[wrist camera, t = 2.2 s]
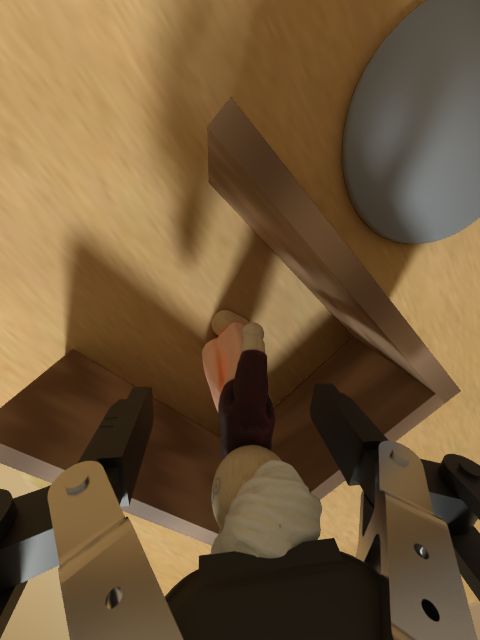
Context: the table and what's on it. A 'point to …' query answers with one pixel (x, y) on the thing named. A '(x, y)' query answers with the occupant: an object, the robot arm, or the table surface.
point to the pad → (418, 127)
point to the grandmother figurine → (252, 451)
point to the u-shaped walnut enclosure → (290, 415)
